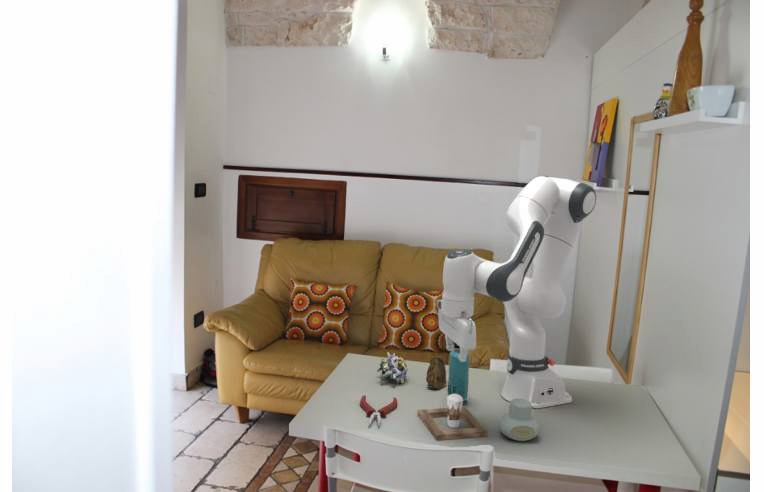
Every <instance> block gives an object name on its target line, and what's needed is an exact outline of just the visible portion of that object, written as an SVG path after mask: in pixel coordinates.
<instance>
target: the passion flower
mask: <svg viewBox="0 0 764 492" xmlns="http://www.w3.org/2000/svg"><path fill="white" fill-rule="evenodd" d="M386 355H387V360H385V359H384V358H381V359H380V363H379V365H380V366H379V368H377V370H376V372H377V373H378V372H380V371H381V373H380V374H381V375H380V379H382V378H383V377H384V375H385V374H386V373H387V372H388V371H391V374H390V379H392V380H394V382H395V383H396V384H398V383H400V384H402V385H403V384H404V382H405V381H404V378H408V373H407V372H408V370H409V369H408V365H407V363H408V362H406V358H405V357H403V358H402V356H399V355H396V353H395V352H394V353H393V354H390V352H388V351H386Z"/></svg>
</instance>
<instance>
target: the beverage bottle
mask: <svg viewBox="0 0 764 492" xmlns="http://www.w3.org/2000/svg"><path fill="white" fill-rule="evenodd" d="M453 344H454V350H453V351H450V353H449V363H448V380H447V381H448V383H447V394H446V396H447V397H448V396H449V395H451V394H458V395H460V396H461V397H462V398H463V401H465V400H467V398H468V396H469V395H468V394H469V375H470V374H469V373H470V372H469V371H470V355H471V354H470V353H469V352H468V353H467V355H466V361H465V362H461V361H460V360H459V359H458V358H459V357H458V355H459V354H460V346H458V345H457V344H456V343H455V342H454V341H453Z"/></svg>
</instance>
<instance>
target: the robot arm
mask: <svg viewBox="0 0 764 492" xmlns="http://www.w3.org/2000/svg"><path fill="white" fill-rule="evenodd" d="M596 204H597V193H596V190H595V189H594V187H593V186H591V185H589V184H586V183H584V182H579V181H576V180H574V179H573V180H572V179H569V178H568V179H567V178H560V177H553V176H548V175H537V176H535V177H533V178H532V179H531V180H530V181H529V182H528V183H527V184H526V185H525V186H524V187H523V189H521V191H520V192H518V194H517V195H516V197H514V199H513V200H512V202H511V203H510V205H509V207H508V209H507V211H506V215H505V217H506V219H505V220H506V222H507V223H506V224H507V225H508V227H509V228H510V230H511V231H512V232H513V233H514V234H515V236H517V237H519V239H518V242H517V244H516V246H515V248H514V250H513V251H512V254H511V256H510V258H509V259H508V260H506V261H505V262H501V263H500V262H497V261H496V262H495V261H492V260H488V259H485V258H483V257H480V256H478V255H476V254H475V253H474V251H472V250H471V249H466V248H465V249H464V248H462V249H454V250H451V251H449V252H448V253H447V254H446V256H445V258H444V261H443V262H444V263H443V268H442V269H443V270H442V284H443V292H442V294H441V296H442V298H441V299H438V300H437V301H436V304H437V305H436V307H437V308H438V313H437V315H438V316H437V317H438V318H437V319H438V327H439V331H440V332H442V333H443V334H444V339H445V342H446V343H445V344H446V350H447V351H448V352H452V351H453V350H455V348H454V342H455V343H456V344H457V345H458V346H460V354H459V355H458V357H459V358H458V359H459V360H460V361H461V362H465V361H466V355H467V353H469V351H471V350H475V349H476V347H477V327H476V326H477V325H476V323H475V321H473V320H472V316H474V309H475V295H474V294H476V293H479V294H481V295H484V296H487V297H491V298H492V299H495V300H497V301H500V302H502V303H503V305H504V309H505V311H506V314H507V318H508V319H507V320H508V323H509V352H508V353H507V358H506V376H505V382H504V385H503V387H502V390H501V393H500V396H501V397H502V398H503V399H504V400H506V401H508V402H510V401H511V400H512V399H525V400H527V401H529V402H530V403H531V408H533V409H542V408H548V407H553V406H559V405H565V404H570V403H573V397H572V395H571V394H570V393H569V392H567V391H566V386H565V382H564V380H563V378H561V377H560V375H558V374H557V373H556V372H555V371H554V370H552V369H551V368H550V367H549V366H551V367H553V366H554V365H556V361H555V359H553V358H552V357H551V358H550V357H547V356H546V355H545V353H546V337H547V335H546V331H545V329H544V327H543V326H542V325H541V322H540V319H546V320H547V319H549V320H554V319H555V320H556V319H557V318H559V317H560V316H561V315H562V314H563V313H564V311H565V308H566V306H567V298H566V295H565V293H564V290H563V285H562V284H563V283H562V282H563V280H562V279H563V273H564V269H565V266H566V263H567V261H568V259H569V257H570V253H571V252H572V250H573V247H574V245H575V242H576V240H577V237H578V233H579V229H580V225H581V222H582V221H583V220H584V219H586V218H588V216H589V215H590V214H591V213H592V212H593V211H594V209H595V207H596ZM531 265H533V267H532V268H533V269H532V276H531V278H530V277H527V276H526V275H527V273H528V271H529V269H530V267H531ZM539 318H540V319H539Z"/></svg>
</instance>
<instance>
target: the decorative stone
mask: <svg viewBox="0 0 764 492" xmlns="http://www.w3.org/2000/svg"><path fill="white" fill-rule="evenodd" d="M425 381H426V383H427V387H432V388H434V389H437V390H441V389H443V388H444V387H445V385H446V384H447V371H446V364H445V358H444V357H440V356H435V357H432V358H431V359H430V361H429V365H428V367H427V371H426V377H425Z"/></svg>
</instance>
